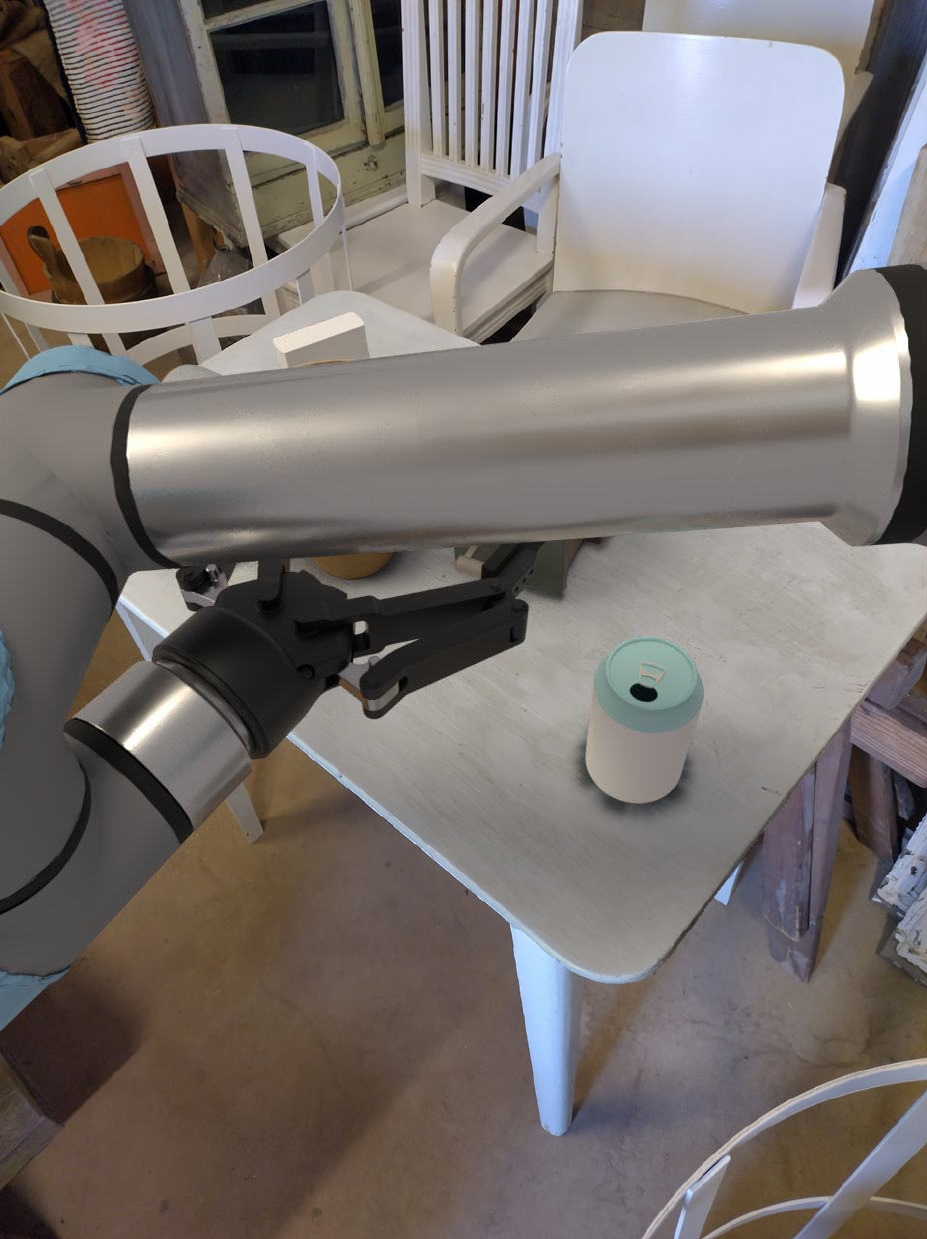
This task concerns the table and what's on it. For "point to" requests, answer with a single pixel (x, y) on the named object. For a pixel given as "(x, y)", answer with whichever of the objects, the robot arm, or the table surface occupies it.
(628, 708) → the can
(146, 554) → the robot arm
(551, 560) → the drawer
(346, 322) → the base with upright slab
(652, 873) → the table surface
